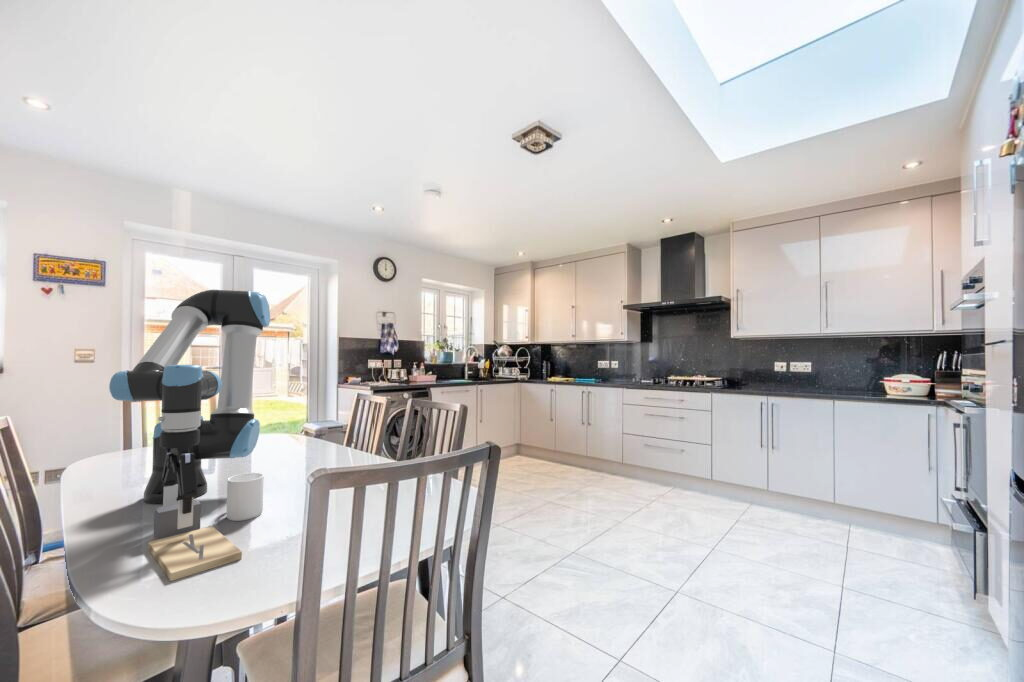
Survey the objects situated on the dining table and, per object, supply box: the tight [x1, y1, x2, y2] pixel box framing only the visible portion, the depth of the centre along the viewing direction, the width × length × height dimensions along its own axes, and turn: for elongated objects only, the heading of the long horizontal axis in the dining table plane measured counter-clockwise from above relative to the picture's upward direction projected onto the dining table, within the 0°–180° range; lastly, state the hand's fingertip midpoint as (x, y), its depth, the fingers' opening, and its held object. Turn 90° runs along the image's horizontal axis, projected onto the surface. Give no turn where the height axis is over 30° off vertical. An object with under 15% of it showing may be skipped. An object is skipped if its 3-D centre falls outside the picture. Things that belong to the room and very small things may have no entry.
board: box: [147, 525, 243, 582], centre depth 93 cm, size 20×12×2 cm, turn 50°
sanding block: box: [153, 499, 202, 541], centre depth 102 cm, size 4×8×7 cm, turn 140°
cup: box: [226, 472, 265, 522], centre depth 116 cm, size 8×12×10 cm
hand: (177, 519), depth 102 cm, fingers open, 13 cm apart
